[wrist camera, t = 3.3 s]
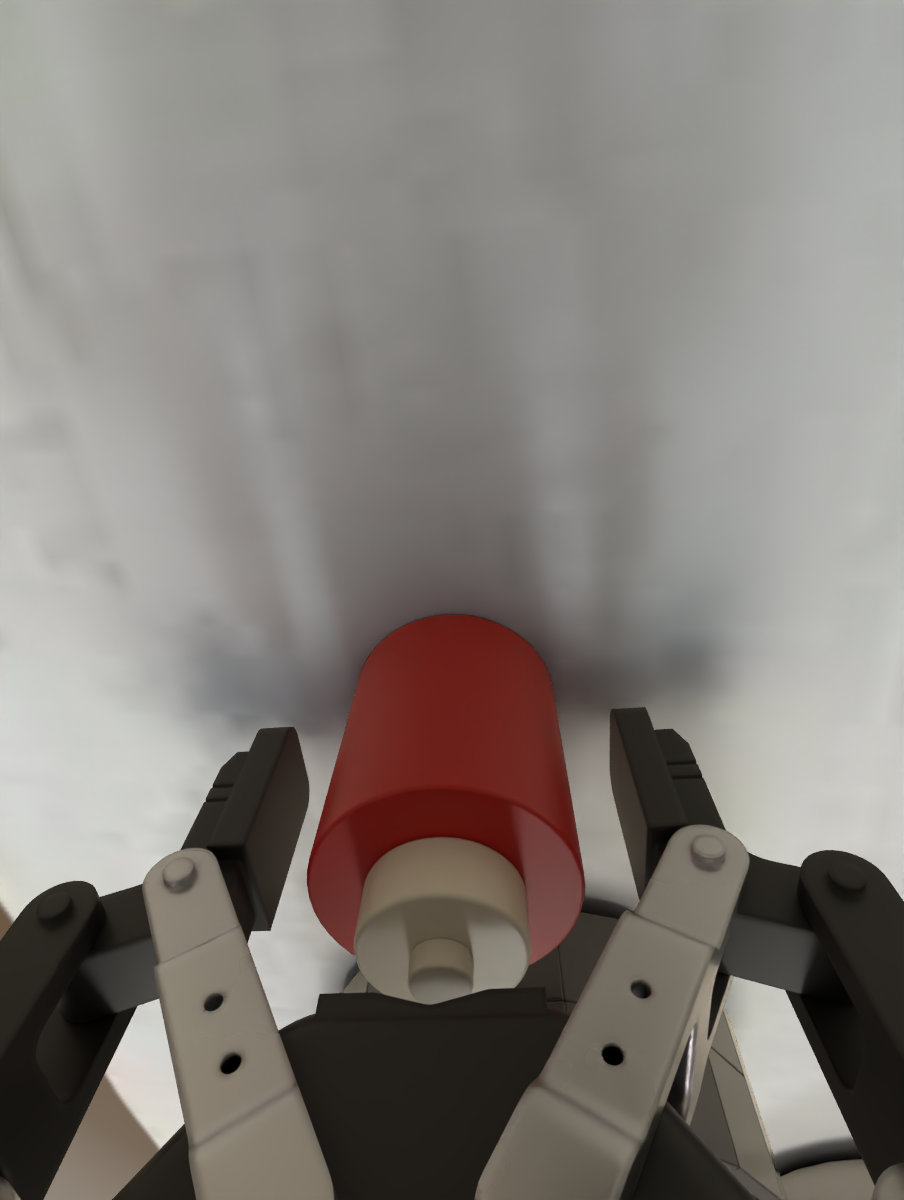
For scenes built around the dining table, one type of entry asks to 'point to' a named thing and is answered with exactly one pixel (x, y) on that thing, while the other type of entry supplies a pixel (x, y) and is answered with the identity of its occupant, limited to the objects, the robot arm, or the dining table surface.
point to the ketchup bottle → (448, 815)
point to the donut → (830, 1181)
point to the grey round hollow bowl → (725, 1089)
